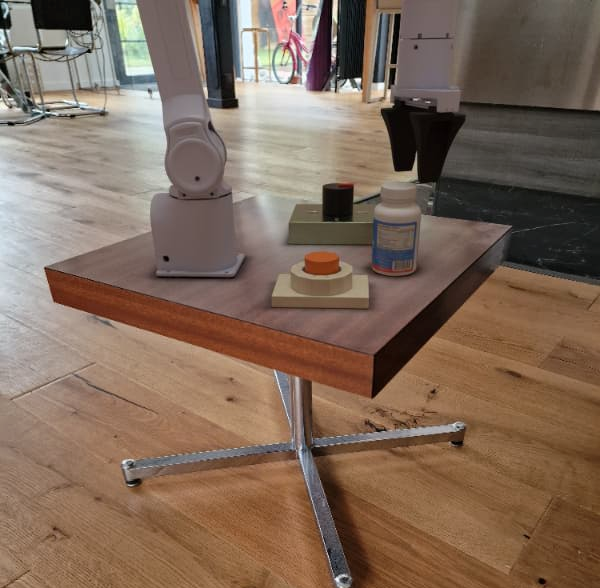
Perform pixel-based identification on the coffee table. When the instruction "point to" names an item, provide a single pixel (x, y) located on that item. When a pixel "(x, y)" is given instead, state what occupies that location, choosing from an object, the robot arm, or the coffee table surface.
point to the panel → (331, 225)
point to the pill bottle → (396, 230)
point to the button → (321, 263)
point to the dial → (337, 199)
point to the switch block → (321, 289)
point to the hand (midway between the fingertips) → (415, 176)
